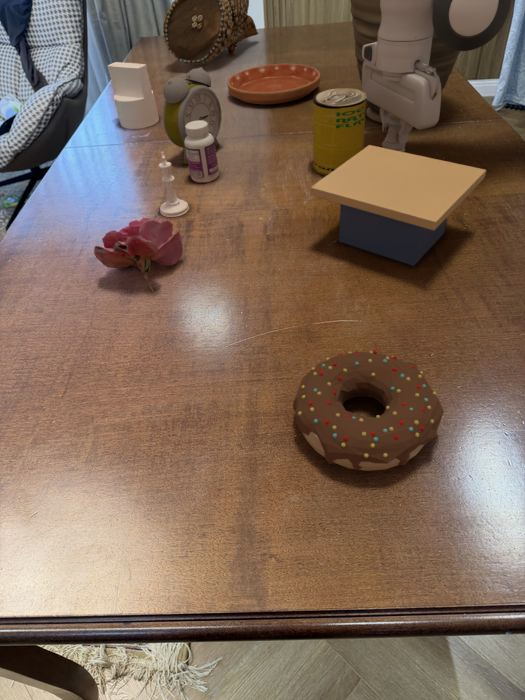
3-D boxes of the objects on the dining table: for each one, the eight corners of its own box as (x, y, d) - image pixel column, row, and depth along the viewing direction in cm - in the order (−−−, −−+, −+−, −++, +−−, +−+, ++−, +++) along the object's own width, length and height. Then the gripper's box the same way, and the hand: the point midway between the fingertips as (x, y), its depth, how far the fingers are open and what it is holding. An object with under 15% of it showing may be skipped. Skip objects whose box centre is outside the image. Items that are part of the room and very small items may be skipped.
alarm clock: (188, 168, 98) (173, 84, 87) (164, 161, 101) (146, 79, 90) (227, 146, 104) (217, 65, 94) (202, 140, 107) (190, 62, 97)
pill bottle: (214, 168, 97) (207, 116, 90) (223, 179, 93) (215, 125, 86) (187, 174, 96) (177, 122, 89) (195, 186, 92) (185, 132, 85)
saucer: (215, 107, 122) (212, 90, 119) (247, 77, 137) (245, 62, 134) (306, 110, 115) (306, 93, 113) (329, 79, 130) (329, 63, 128)
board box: (472, 229, 75) (486, 169, 68) (424, 284, 66) (435, 221, 60) (365, 200, 84) (369, 144, 77) (310, 245, 75) (310, 187, 69)
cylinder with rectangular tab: (112, 126, 117) (97, 70, 109) (136, 113, 123) (123, 58, 114) (143, 131, 114) (129, 72, 105) (166, 116, 119) (155, 60, 111)
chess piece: (162, 219, 84) (148, 161, 77) (158, 206, 87) (144, 149, 80) (191, 213, 85) (180, 155, 78) (186, 200, 88) (175, 143, 81)
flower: (123, 277, 78) (133, 211, 76) (179, 291, 76) (191, 224, 74) (75, 277, 68) (86, 201, 66) (140, 294, 65) (152, 216, 63)
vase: (480, 126, 104) (508, -53, 80) (363, 147, 106) (358, -20, 83) (448, 74, 119) (465, -89, 96) (347, 94, 122) (339, -60, 99)
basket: (178, -6, 162) (136, -5, 134) (236, -50, 153) (204, -59, 125) (216, 68, 172) (184, 83, 144) (273, 31, 163) (251, 39, 135)
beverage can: (370, 160, 94) (375, 91, 86) (348, 180, 89) (351, 109, 81) (328, 152, 98) (329, 85, 90) (304, 170, 93) (303, 102, 85)
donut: (362, 509, 44) (366, 479, 41) (269, 414, 52) (266, 382, 49) (468, 427, 50) (479, 393, 46) (368, 352, 58) (372, 319, 54)
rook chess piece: (394, 158, 94) (399, 114, 88) (376, 152, 96) (379, 108, 91) (409, 151, 96) (415, 107, 90) (391, 145, 98) (395, 101, 93)
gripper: (457, 65, 78) (442, 153, 88) (388, 39, 92) (381, 117, 102) (422, 73, 77) (410, 161, 86) (357, 45, 91) (353, 123, 100)
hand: (394, 137), depth 94 cm, fingers closed on rook chess piece, 3 cm apart
